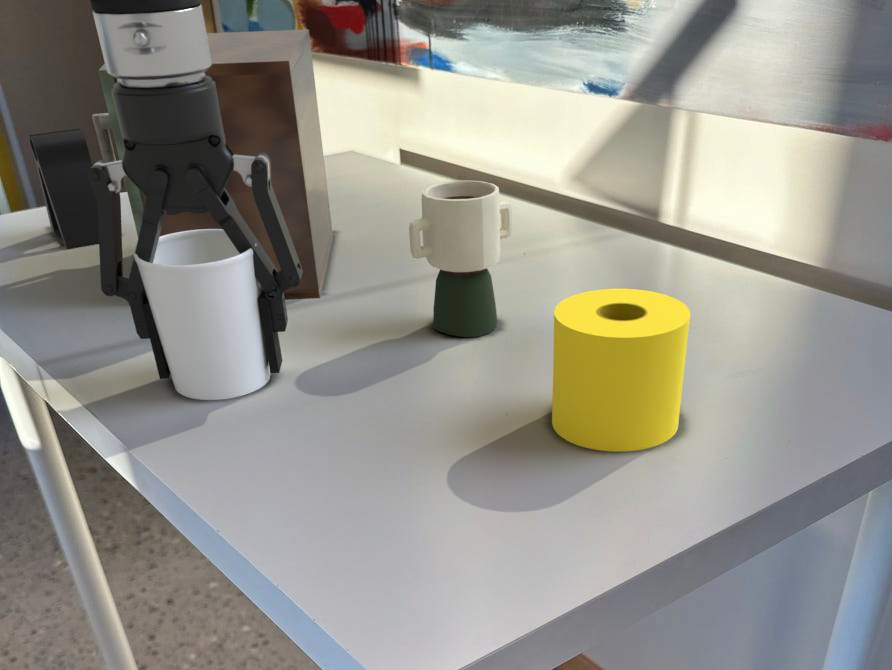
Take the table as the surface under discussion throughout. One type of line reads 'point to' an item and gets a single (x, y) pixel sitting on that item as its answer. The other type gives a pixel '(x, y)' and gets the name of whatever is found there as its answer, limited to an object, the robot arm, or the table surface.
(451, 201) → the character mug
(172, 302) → the white cup
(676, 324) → the yellow toilet paper roll
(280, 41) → the cupboard
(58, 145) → the phone stand
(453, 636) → the table surface
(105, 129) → the cupboard door
